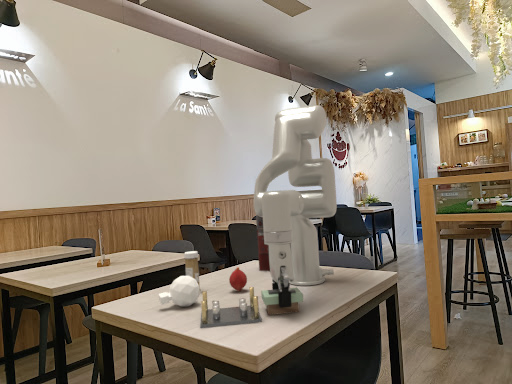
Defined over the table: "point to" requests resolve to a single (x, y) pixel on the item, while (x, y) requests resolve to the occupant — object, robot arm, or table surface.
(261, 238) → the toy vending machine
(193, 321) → the table surface
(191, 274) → the sprinkles bottle
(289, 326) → the table surface
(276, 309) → the walnut stand
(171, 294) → the perfume bottle
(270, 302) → the board
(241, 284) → the onion
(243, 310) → the chassis
